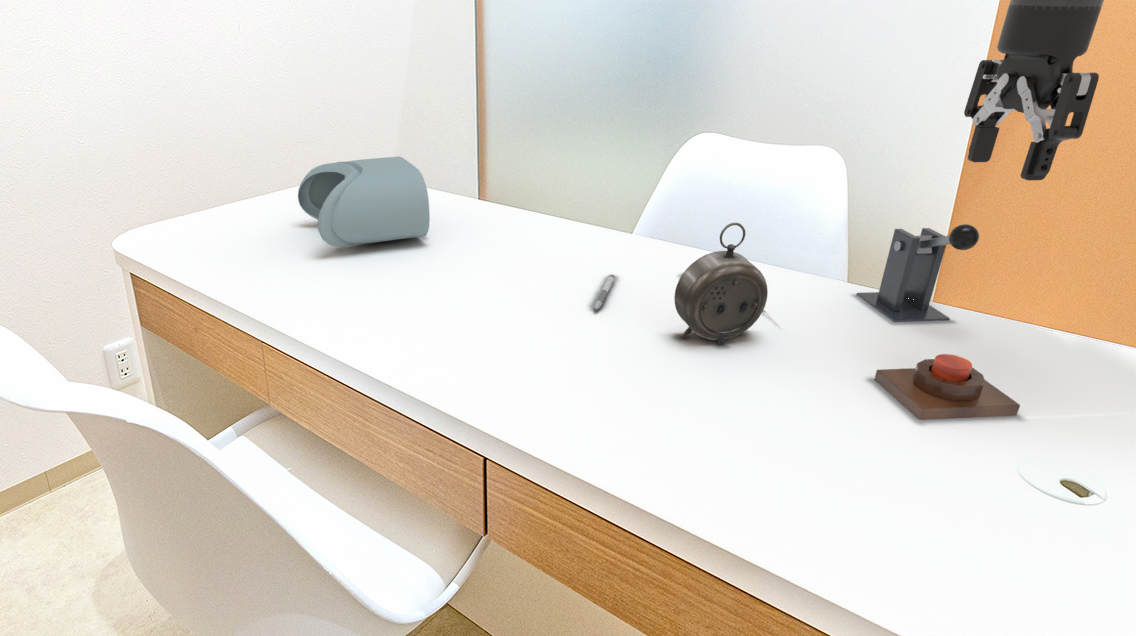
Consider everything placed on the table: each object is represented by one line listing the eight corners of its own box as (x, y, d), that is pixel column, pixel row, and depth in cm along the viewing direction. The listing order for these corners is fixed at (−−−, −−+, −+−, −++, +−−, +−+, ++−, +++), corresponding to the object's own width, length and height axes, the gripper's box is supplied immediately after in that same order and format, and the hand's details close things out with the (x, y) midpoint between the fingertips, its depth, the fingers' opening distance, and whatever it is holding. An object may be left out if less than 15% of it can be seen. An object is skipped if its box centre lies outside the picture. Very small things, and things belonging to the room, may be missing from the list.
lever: (985, 248, 92) (985, 222, 92) (960, 248, 92) (960, 222, 92) (922, 258, 104) (922, 235, 104) (900, 258, 104) (900, 235, 104)
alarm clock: (744, 332, 101) (765, 214, 94) (764, 349, 96) (787, 227, 89) (667, 337, 99) (682, 218, 92) (683, 356, 95) (700, 231, 87)
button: (954, 367, 84) (958, 353, 84) (975, 382, 81) (980, 368, 80) (924, 368, 84) (928, 354, 83) (943, 383, 81) (948, 369, 80)
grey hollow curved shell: (431, 248, 132) (428, 175, 126) (322, 262, 125) (314, 185, 119) (396, 215, 150) (392, 150, 144) (300, 225, 143) (292, 157, 137)
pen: (615, 281, 118) (616, 272, 117) (599, 315, 106) (599, 305, 105) (609, 280, 118) (609, 272, 117) (591, 314, 106) (592, 305, 106)
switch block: (960, 382, 89) (970, 352, 87) (1014, 422, 81) (1026, 390, 79) (872, 385, 88) (880, 355, 86) (917, 426, 80) (927, 394, 78)
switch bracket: (947, 326, 103) (973, 244, 98) (892, 328, 102) (914, 245, 97) (906, 298, 112) (927, 221, 107) (855, 300, 111) (873, 222, 106)
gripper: (1154, 4, 66) (1088, 186, 74) (1039, -1, 79) (993, 155, 86) (1074, 3, 66) (1015, 187, 73) (971, -1, 79) (930, 156, 86)
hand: (1003, 170), depth 80 cm, fingers open, 8 cm apart
